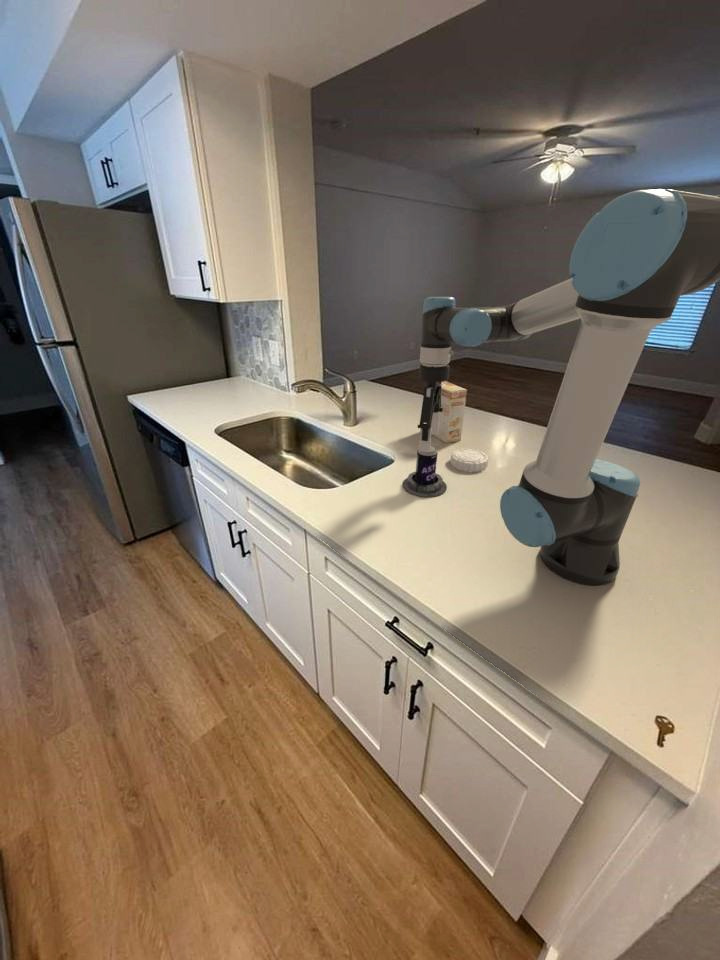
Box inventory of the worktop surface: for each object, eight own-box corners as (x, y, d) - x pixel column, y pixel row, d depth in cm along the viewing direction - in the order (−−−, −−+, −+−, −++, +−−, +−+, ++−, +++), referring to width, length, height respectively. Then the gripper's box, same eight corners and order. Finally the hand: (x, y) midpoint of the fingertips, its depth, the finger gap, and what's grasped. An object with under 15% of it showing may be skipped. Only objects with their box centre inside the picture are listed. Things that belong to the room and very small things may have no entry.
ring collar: (443, 500, 108) (444, 492, 107) (397, 493, 112) (398, 485, 110) (449, 479, 119) (450, 472, 118) (407, 473, 122) (408, 466, 121)
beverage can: (419, 491, 112) (422, 453, 106) (411, 482, 117) (414, 445, 111) (437, 488, 113) (441, 450, 107) (429, 479, 118) (432, 443, 112)
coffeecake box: (461, 440, 146) (468, 389, 137) (445, 443, 144) (450, 391, 135) (440, 427, 159) (444, 379, 149) (424, 430, 156) (428, 381, 147)
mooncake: (445, 468, 126) (447, 458, 125) (455, 454, 136) (456, 444, 134) (483, 475, 122) (485, 465, 120) (490, 460, 131) (491, 451, 130)
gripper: (442, 374, 87) (435, 461, 96) (455, 356, 108) (448, 429, 117) (409, 372, 89) (405, 457, 99) (428, 355, 110) (424, 426, 120)
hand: (429, 442), depth 108 cm, fingers open, 13 cm apart
